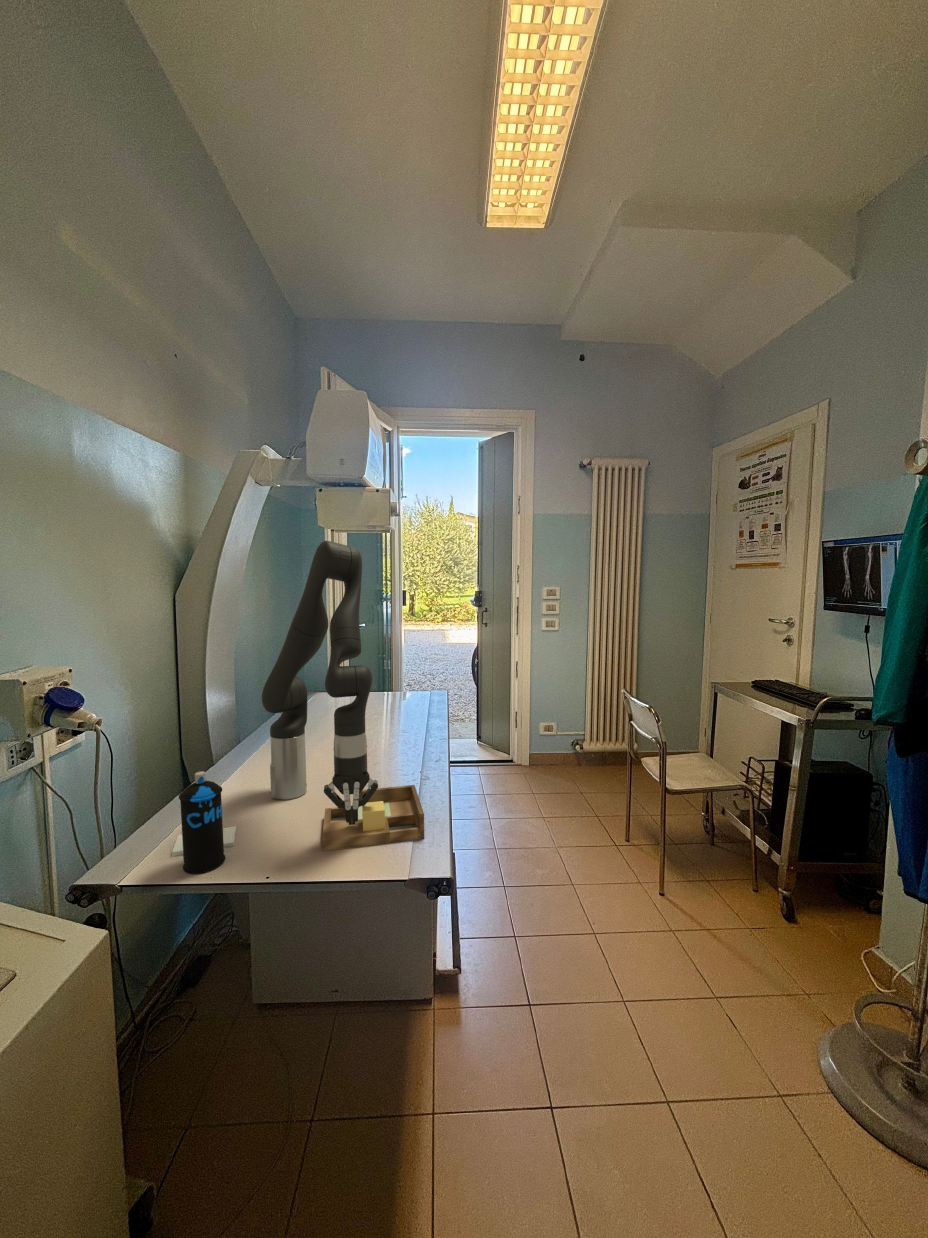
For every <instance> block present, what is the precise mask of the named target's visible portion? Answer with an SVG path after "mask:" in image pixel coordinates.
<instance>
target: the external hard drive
mask: <svg viewBox="0 0 928 1238" xmlns="http://www.w3.org/2000/svg"><path fill="white" fill-rule="evenodd" d="M236 832H237V826H236V825H235V826H229V827H224V828H223V843H224V849H225V848H230V847H234V845H235V838H236V835H237V833H236ZM178 856H183V840H182V834H178V835H177V838H176V840H175V842H174V845H173V848H172V849H171V857H178Z"/></svg>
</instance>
